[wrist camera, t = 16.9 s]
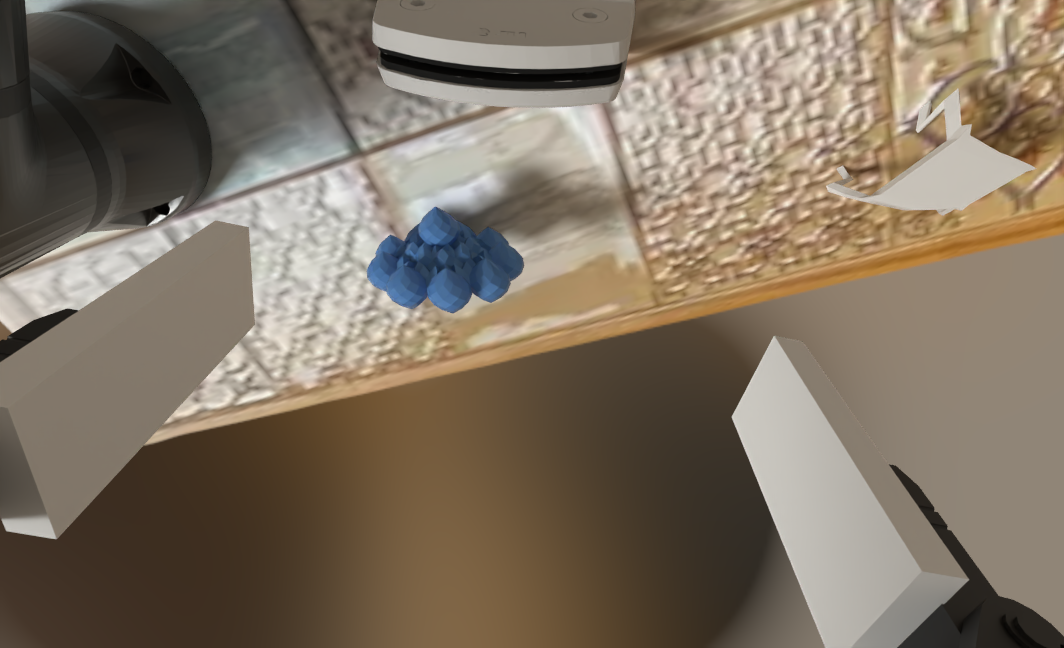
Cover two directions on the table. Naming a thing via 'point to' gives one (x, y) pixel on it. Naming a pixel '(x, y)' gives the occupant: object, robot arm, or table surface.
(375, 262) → the grapes
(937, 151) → the origami figure
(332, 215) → the table surface
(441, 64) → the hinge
